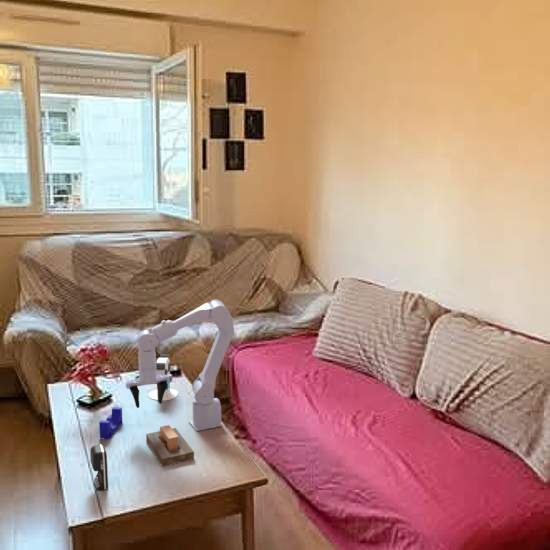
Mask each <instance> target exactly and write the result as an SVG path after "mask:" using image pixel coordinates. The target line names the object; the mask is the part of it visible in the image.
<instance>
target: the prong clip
mask: <svg viewBox="0 0 550 550" xmlns="http://www.w3.org/2000/svg"><path fill="white" fill-rule="evenodd" d="M159 431H160V440H161V441H162V442H164V441H167V450H168V452H169V451H174V450H178V436H177V435H176V433H175V432H174V431H173V428H172V427H171V426H170V424H168V425H162V426H159Z"/></svg>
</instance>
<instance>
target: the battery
mask: <svg viewBox="0 0 550 550" xmlns="http://www.w3.org/2000/svg"><path fill="white" fill-rule="evenodd" d="M89 451H90V455H89V457H90V464H91V468H92V469H93V471H94V472H97V473H96V475H95V477H94V479H93V480H94V486H95V489H96V490H98V491H102V490H103V491H105V490H108V488H109V479H108V478H109V473H108V472H109V471H108V455H107V450H106V447H105V445H104V443H103V444H97V445H93V446H91V448H90V450H89Z"/></svg>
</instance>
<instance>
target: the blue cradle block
mask: <svg viewBox="0 0 550 550" xmlns="http://www.w3.org/2000/svg"><path fill="white" fill-rule="evenodd" d="M98 423H99V426H98V427H99V439H100V438H104V439H103V440H110V439H109V438H112V436H113V435H114V434H115V433H116V432H117V431H118V429H119V428H120V427H121V426H122V425H123V407H119V406H118V407H117V406H113V407H112V408H111V414H109V415H108V416H107V417H106V420H104V419H101V420H99V422H98Z"/></svg>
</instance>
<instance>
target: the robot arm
mask: <svg viewBox="0 0 550 550" xmlns="http://www.w3.org/2000/svg"><path fill="white" fill-rule="evenodd" d="M210 320H211V321H212V322H213V324H215V325H216V328H217V329H218V331H217V334H216V336H215V338H214V341H213V344H212V345H211V346H212V347H211V350H210V351H209V354H208V356H207V358H206V362H205V364H204V367H203V370H202V371H201V372H200V373H199V375H198V377H197V378H196V379H195V380H194V381H193V383H192V386H191V387H192V391H193V392H194V396H193V398H192V419H191V420H188V423H189V424H190V425H191V426H192V428H193V429H194V430H195V431H196V432H199V431H204V430H208V429H214V428H218V427H222V426H223V424H222V405H221V402H220V399H219V398H217V397H215V389H216V384H217V383H216V380H217V376H218V374H219V371H220V368H221V366H222V363H223V360H224V358H225V356H226V353H227V351H228V348H229V345H230V343H231V342H232V341H231V340H232V338H233V335H234V333H235V328H234V323H233V317H232V314H231V312H230V311H229V309H228V308H227V307H226V305H225V304H224V302H223V301H221V300H220V299H212V300H211V301H209V302H206V303H203V304H201V305H200V306H198V307H196V308H195V309H193V310H191V311H189V312H188V313H186V314H183V316H180V317H179V318H177V319H175V320H170V319H167V320H165V319H163V320H162V321H160V322H161V323H159V324H157V325H156V326H153V327H148V328H147V329H144V330H141V331H140V332H139V334H138V335H137V338H136V339H137V344H138V355H137V356H138V357H137V358H138V359H137V360H138V377H137V378H134V379H131V380H126V381H125V388H126V389H128V390H130V393H131V395H132V398H133V400H134V403H135V407H136V408H140V389H139V388H138V387H140V386H147V385H155V384H156V383H157V384H156V389H157V388H158V402H157V403H159V404H161V405H162V403H163V401H162V399H163V395H164V392H165V390H166V388H167V387H168V384H167V382H170V383H171V381H170V376H171V375H170V376H169V375H156V362H157V355H156V354H157V353H156V347H157V345H159V344H162V343H164V342H165V341H168V340H169V339H172V338H173V337H175V336H177V334H178V333H179V332H178V331H179V330H181V329H184V328H187V327H188V326H191V325H193V324H195V323H197V322H200V321H202V322H204V323H205V322H206V323H211V322H210Z"/></svg>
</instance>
